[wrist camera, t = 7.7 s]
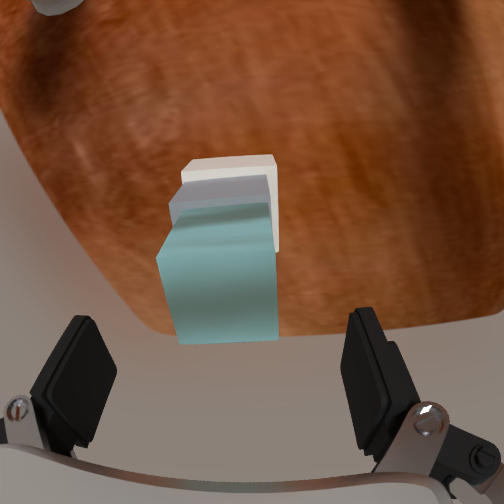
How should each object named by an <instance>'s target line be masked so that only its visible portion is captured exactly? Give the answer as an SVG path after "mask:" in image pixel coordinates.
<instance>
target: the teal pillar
mask: <svg viewBox="0 0 504 504" xmlns="http://www.w3.org/2000/svg"><path fill="white" fill-rule="evenodd" d="M156 260H157V264H158V268H159V272H160V276H161V280H162V284H163V288H164V291H165V295H166V299H167V302H168V306H169V310H170V313H171V317H172V320H173V323H174V327H175V330H176V334H177V337H178V340H179V343H180V344H212V343H213V344H214V343H237V342H256V341H271V340H279V327H278V301H277V277H276V256H275V245H274V239H273V232H272V226H271V220H270V214H269V208H268V202H265V203H251V204H238V205H226V206H215V207H204V208H193V209H183V210H182V212H181V214H180V216H179V217H178V219H177V221H176V223H175V224H174V226H173V228H172V230H171V231H170V233H169V235H168V237H167V239H166V240H165V242H164V244H163V246H162V248H161V250H160V251H159V253H158V255H157V257H156Z"/></svg>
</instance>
